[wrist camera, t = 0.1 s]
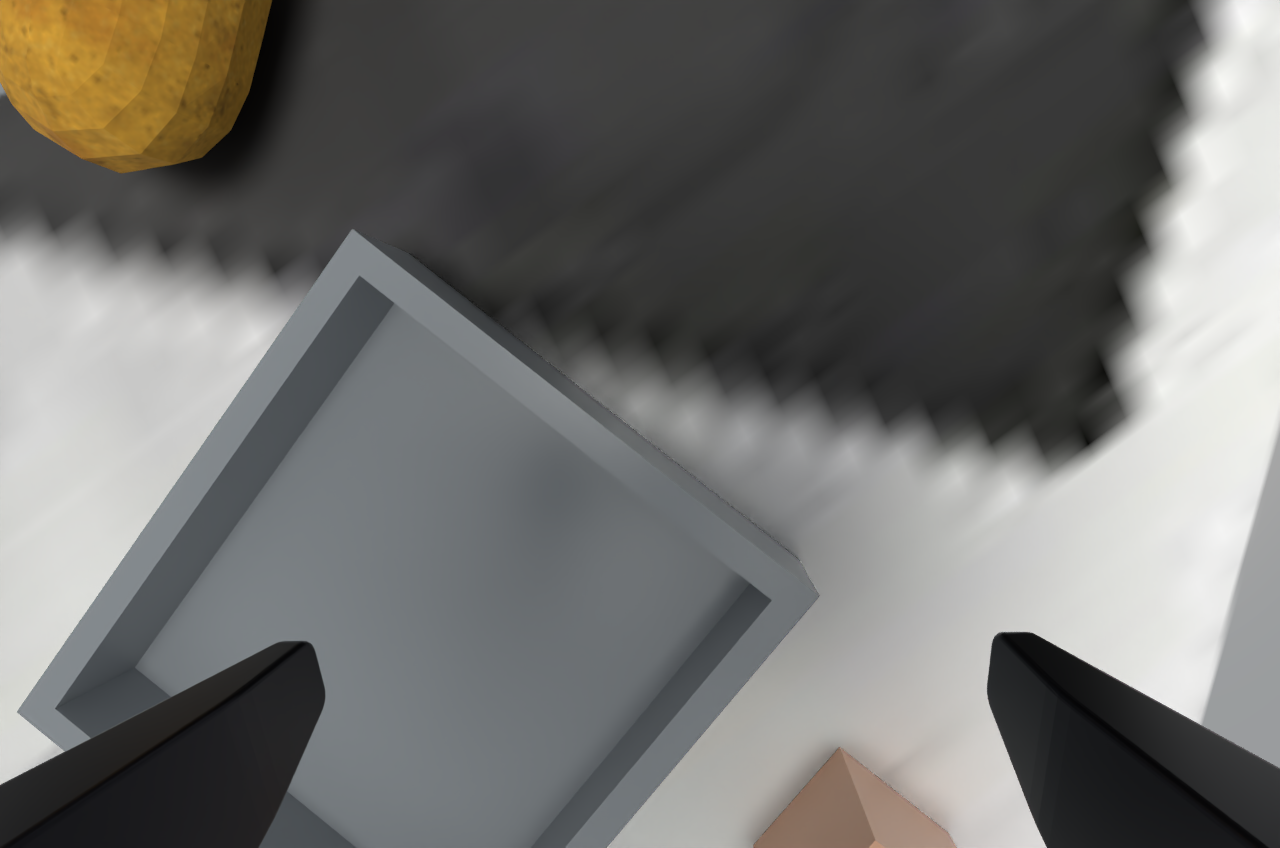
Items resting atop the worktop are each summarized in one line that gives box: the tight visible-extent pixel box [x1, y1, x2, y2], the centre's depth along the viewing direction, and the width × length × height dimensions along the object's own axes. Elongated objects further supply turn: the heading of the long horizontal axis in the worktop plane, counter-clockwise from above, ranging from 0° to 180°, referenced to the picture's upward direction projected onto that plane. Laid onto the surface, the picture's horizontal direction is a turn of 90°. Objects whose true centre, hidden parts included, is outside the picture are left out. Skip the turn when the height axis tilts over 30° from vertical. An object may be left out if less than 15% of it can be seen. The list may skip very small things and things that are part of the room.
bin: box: [17, 229, 819, 848], centre depth 23 cm, size 20×18×4 cm
